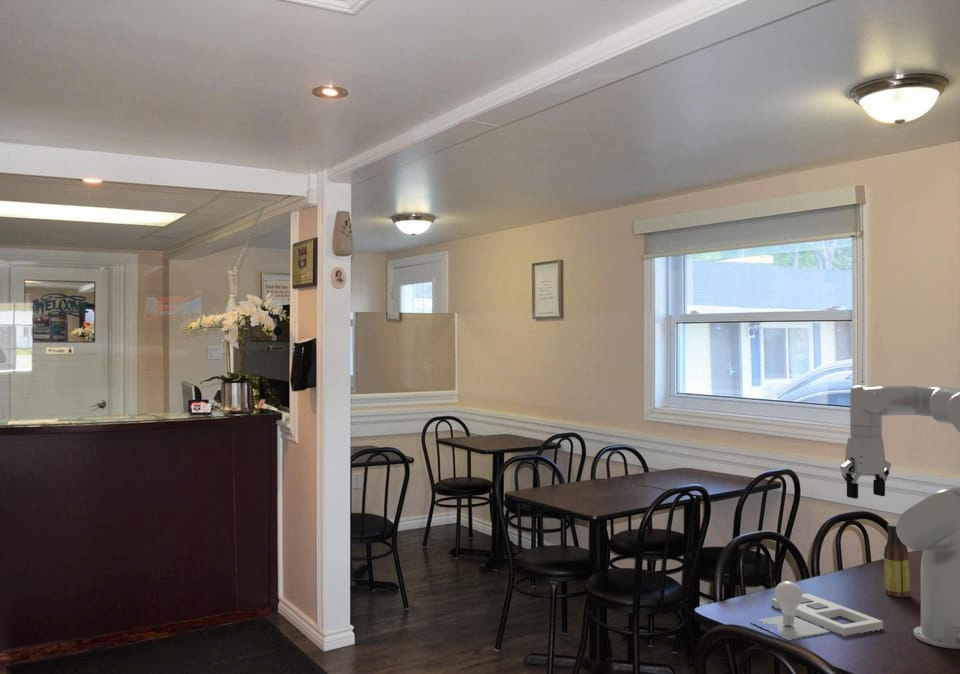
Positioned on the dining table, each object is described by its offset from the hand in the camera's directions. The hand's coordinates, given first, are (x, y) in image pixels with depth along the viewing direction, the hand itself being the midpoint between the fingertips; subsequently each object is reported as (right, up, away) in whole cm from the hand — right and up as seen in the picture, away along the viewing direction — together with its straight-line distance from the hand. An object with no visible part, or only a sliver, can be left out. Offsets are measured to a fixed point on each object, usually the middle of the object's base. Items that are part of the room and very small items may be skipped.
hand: (865, 496), depth 209 cm
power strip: (-13, -30, -5) cm, 33 cm away
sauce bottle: (+16, -31, +14) cm, 37 cm away
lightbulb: (-26, -30, -13) cm, 42 cm away
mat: (-26, -30, -13) cm, 42 cm away
